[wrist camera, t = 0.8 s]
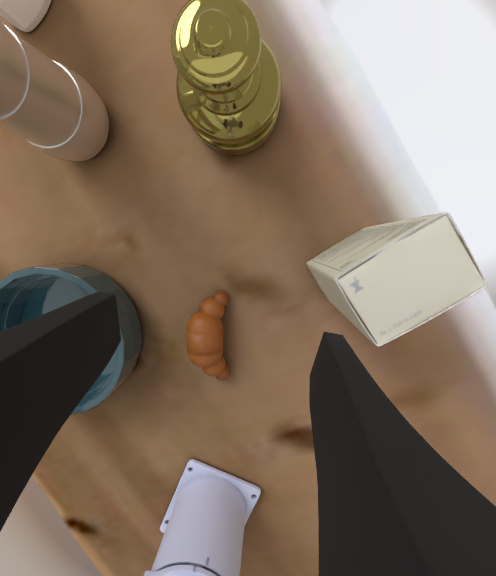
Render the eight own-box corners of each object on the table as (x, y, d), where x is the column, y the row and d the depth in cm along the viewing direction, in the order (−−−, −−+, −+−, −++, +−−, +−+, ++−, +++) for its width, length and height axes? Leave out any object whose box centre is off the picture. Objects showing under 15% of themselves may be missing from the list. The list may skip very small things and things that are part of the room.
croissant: (193, 374, 29) (184, 391, 26) (190, 289, 28) (180, 295, 25) (230, 375, 29) (226, 392, 26) (229, 289, 28) (224, 296, 25)
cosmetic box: (328, 302, 27) (373, 354, 15) (303, 261, 27) (329, 280, 15) (392, 265, 26) (494, 289, 14) (367, 222, 26) (450, 208, 14)
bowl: (119, 412, 31) (97, 438, 27) (1, 361, 31) (-38, 380, 27) (162, 296, 28) (144, 305, 24) (33, 241, 28) (-5, 242, 24)
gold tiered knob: (236, 175, 26) (214, 138, 16) (173, 112, 25) (111, 33, 16) (298, 108, 25) (316, 22, 15) (234, 39, 24) (208, -96, 14)
